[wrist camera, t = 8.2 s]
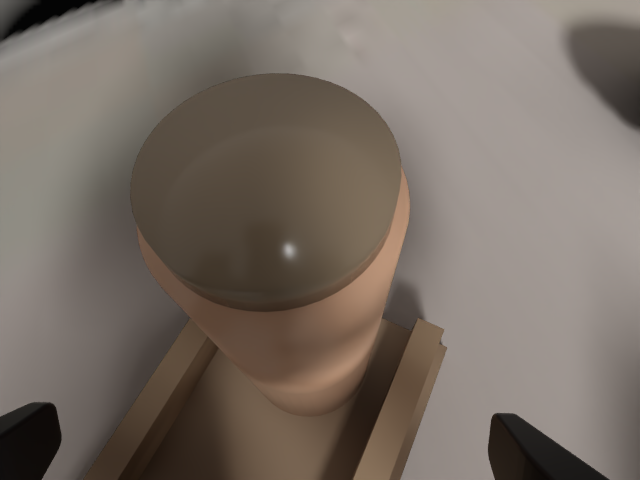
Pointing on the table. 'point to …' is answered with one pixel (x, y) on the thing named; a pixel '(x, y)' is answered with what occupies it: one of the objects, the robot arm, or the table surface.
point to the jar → (277, 229)
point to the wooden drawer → (272, 418)
